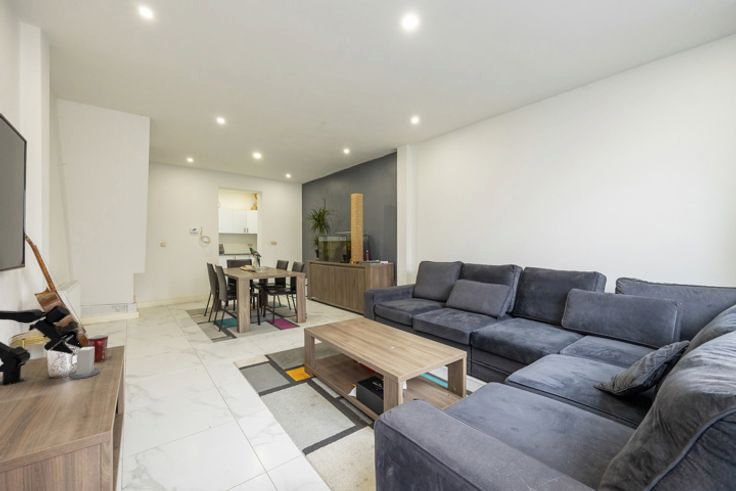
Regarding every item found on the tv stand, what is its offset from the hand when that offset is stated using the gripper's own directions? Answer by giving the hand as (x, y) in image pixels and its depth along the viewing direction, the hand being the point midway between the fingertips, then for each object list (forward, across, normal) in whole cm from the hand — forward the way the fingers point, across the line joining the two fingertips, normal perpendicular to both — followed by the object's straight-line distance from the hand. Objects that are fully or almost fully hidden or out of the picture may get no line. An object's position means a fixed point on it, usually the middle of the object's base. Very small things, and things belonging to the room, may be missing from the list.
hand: (77, 350), depth 153 cm
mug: (+10, +22, +9) cm, 25 cm away
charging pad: (+12, 0, +6) cm, 13 cm away
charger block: (+11, 0, +6) cm, 12 cm away
